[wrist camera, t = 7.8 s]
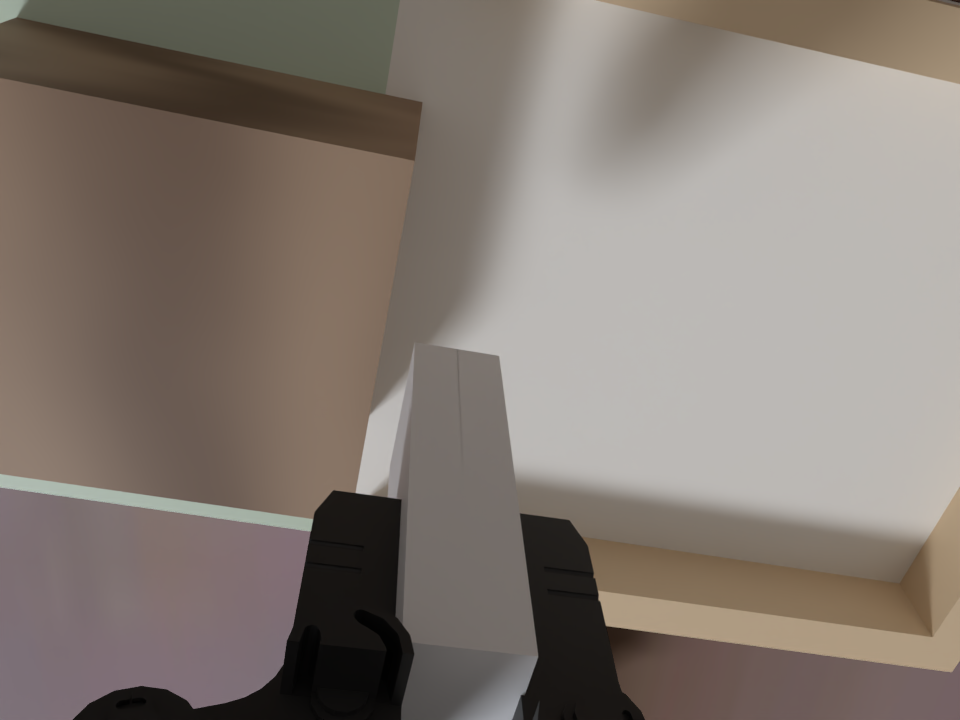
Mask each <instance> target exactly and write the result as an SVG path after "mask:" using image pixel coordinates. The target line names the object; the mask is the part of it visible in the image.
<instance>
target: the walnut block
mask: <svg viewBox="0 0 960 720" xmlns="http://www.w3.org/2000/svg"><path fill="white" fill-rule="evenodd" d="M422 103H423V102H419V101H414V100H410V99H405V98H400V97H395V96H390V95H386V94H381V93H376V92H371V91H367V90H362V89H357V88H352V87H347V86H343V85H338V84H333V83H328V82H324V81H319V80H314V79H309V78H304V77H300V76H295V75H290V74H285V73H281V72H276V71H271V70H266V69H261V68H257V67H252V66H247V65H242V64H238V63H233V62H228V61H223V60H218V59H214V58H209V57H204V56H199V55H194V54H190V53H185V52H180V51H175V50H171V49H166V48H161V47H156V46H151V45H147V44H142V43H137V42H132V41H128V40H123V39H118V38H113V37H108V36H104V35H99V34H94V33H89V32H85V31H80V30H75V29H70V28H65V27H61V26H56V25H51V24H46V23H42V22H37V21H32V20H27V19H22V18H18V17H16V18H13V19H11V20H8V21H5V22H2V23H0V474H3V475H10V476H17V477H24V478H31V479H38V480H45V481H52V482H59V483H66V484H73V485H79V486H86V487H93V488H100V489H107V490H114V491H121V492H128V493H135V494H142V495H149V496H156V497H163V498H170V499H177V500H184V501H191V502H197V503H204V504H211V505H218V506H225V507H232V508H239V509H246V510H253V511H260V512H267V513H274V514H281V515H288V516H295V517H302V518H309V519H313V518H314V512H315V511H316V510H317V508H318V507H319V506H320V505H321V504H322V503H323V501H324V500H325V499H326V498H327V497H328V496H329V495H330V493H331V492H332V491H333V490H336V491H344V492H351V493H356V487H357V482H358V476H359V470H360V465H361V459H362V454H363V448H364V443H365V437H366V431H367V426H368V420H369V415H370V409H371V403H372V398H373V392H374V387H375V381H376V375H377V370H378V364H379V359H380V353H381V347H382V342H383V336H384V331H385V325H386V319H387V314H388V308H389V303H390V297H391V291H392V286H393V280H394V275H395V269H396V264H397V258H398V252H399V247H400V241H401V236H402V230H403V224H404V219H405V213H406V208H407V202H408V196H409V191H410V185H411V180H412V174H413V168H414V163H415V156H416V148H417V141H418V133H419V126H420V118H421V111H422Z"/></svg>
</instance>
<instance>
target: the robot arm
mask: <svg viewBox="0 0 960 720" xmlns="http://www.w3.org/2000/svg"><path fill="white" fill-rule="evenodd" d="M593 576H594V571H593V566H592V562H591V557H590V553H589V548H588V545H587V544H586V542H585V541H584V540H583V538H582V537H581V535H580V534H579V533H578V531H577V530H576V529H575V527H574V526H573V524H572V523H571V522H570V520H566V519H559V518H551V517H544V516H537V515H529V514H522V513H520V512H519V504H518V497H517V489H516V481H515V474H514V466H513V458H512V451H511V443H510V435H509V428H508V420H507V412H506V404H505V397H504V389H503V381H502V374H501V366H500V358H499V356H497V355H491V354H485V353H479V352H473V351H467V350H460V349H454V348H448V347H442V346H436V345H430V344H424V343H417V342H415V343H414V348H413V353H412V358H411V363H410V368H409V373H408V378H407V383H406V388H405V393H404V398H403V403H402V408H401V413H400V418H399V423H398V428H397V433H396V438H395V443H394V448H393V453H392V458H391V463H390V470H389V484H388V497H381V496H373V495H366V494H359V493H351V492H344V491H336V490H333V491H332V492H331V493H330V495H329V496H328V497H327V498H326V499H325V500H324V501H323V503H322V504H321V505H320V506H319V507H318V508H317V510H316V511H315V512H314V518H313V523H312V528H311V534H310V539H309V545H308V550H307V555H306V561H305V567H304V572H303V577H302V582H301V588H300V593H299V599H298V604H297V609H296V615H295V620H294V626H293V629H292V631H291V633H290V635H289V638H288V640H287V645H286V652H285V659H284V665H283V666H282V668H281V669H280V671H279V672H278V673H277V675H276V676H275V677H274V678H273V679H272V680H271V681H270V682H269V683H267V684H266V685H265V686H264V687H263V688H262V689H260V690H258V691H256V692H254V693H252V694H250V695H249V696H247V697H245V698H241V699H238V700H235V701H231V702H228V703H224V704H218V705H213V706H208V707H202V708H197V709H193V708H192V707H191V705H190V704H189V703H188V701H187V700H185V699H183V698H181V697H179V696H178V695H176V694H174V693H172V692H170V691H168V690H166V689H159V688H151V687H144V686H139V687H134V688H128V689H122V690H117V691H113V692H111V693H109V694H107V695H105V696H103V697H101V698H99V699H97V700H95V701H93V702H91V703H89V704H88V705H87V706H86V707H85V708H84V709H83V710H82V711H81V712H80V713H79V714H78V715H77V716H76V717H75V718H74V719H73V720H645V719H644V717H643V714H642V712H641V711H640V709H639V708H638V707H637V706H636V705H635V704H634V703H633V702H632V701H631V700H630V698H629V697H628V696H627V695H626V694H624V693H623V692H622V691H621V688H620V685H619V682H618V678H617V673H616V669H615V664H614V660H613V655H612V651H611V647H610V642H609V638H608V633H607V629H606V624H605V620H604V615H603V611H602V606H601V602H600V601H599V600H598V598H599V593H598V588H597V584H596V580H595V578H594V577H593Z"/></svg>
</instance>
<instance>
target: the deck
mask: <svg viewBox="0 0 960 720" xmlns="http://www.w3.org/2000/svg"><path fill="white" fill-rule="evenodd" d="M16 17H18V18H22V19H27V20H32V21H37V22H42V23H46V24H51V25H56V26H61V27H65V28H70V29H75V30H80V31H85V32H89V33H94V34H99V35H104V36H108V37H113V38H118V39H123V40H128V41H132V42H137V43H142V44H147V45H151V46H156V47H161V48H166V49H171V50H175V51H180V52H185V53H190V54H194V55H199V56H204V57H209V58H214V59H218V60H223V61H228V62H233V63H238V64H242V65H247V66H252V67H257V68H261V69H266V70H271V71H276V72H281V73H285V74H290V75H295V76H300V77H304V78H309V79H314V80H319V81H324V82H328V83H333V84H338V85H343V86H347V87H352V88H357V89H362V90H367V91H371V92H376V93H381V94H386V95H390V96H395V97H400V98H405V99H410V100H414V101H419V102H423V103H422V111H421V118H420V126H419V133H418V141H417V148H416V156H415V163H414V168H413V174H412V180H411V185H410V191H409V196H408V202H407V208H406V213H405V219H404V224H403V230H402V236H401V241H400V247H399V252H398V258H397V264H396V269H395V275H394V280H393V286H392V291H391V297H390V303H389V308H388V314H387V319H386V325H385V331H384V336H383V342H382V347H381V353H380V359H379V364H378V370H377V375H376V381H375V387H374V392H373V398H372V403H371V409H370V415H369V420H368V426H367V431H366V437H365V443H364V448H363V454H362V459H361V465H360V470H359V476H358V482H357V487H356V493H359V494H366V495H373V496H381V497H388V484H389V470H390V463H391V458H392V453H393V448H394V443H395V438H396V433H397V428H398V423H399V418H400V413H401V408H402V403H403V398H404V393H405V388H406V383H407V378H408V373H409V368H410V363H411V358H412V353H413V348H414V343H415V342H417V343H424V344H430V345H436V346H442V347H448V348H454V349H460V350H467V351H473V352H479V353H485V354H491V355H497V356H499V358H500V366H501V374H502V381H503V389H504V397H505V404H506V412H507V420H508V428H509V435H510V443H511V451H512V458H513V466H514V474H515V481H516V489H517V497H518V504H519V512H520V513H522V514H529V515H537V516H544V517H551V518H559V519H566V520H570V522H571V523H572V524H573V526H574V527H575V529H576V530H577V531H578V533H579V534H580V535H581V537H582V538H583V540H584V541H585V542H586V544H587V545H588V548H589V553H590V557H591V562H592V566H593V571H594V576H593V577H594V578H595V580H596V584H597V588H598V593H599V598H598V600H599V601H600V602H601V606H602V611H603V615H604V620H605V624H606V626H610V627H617V628H625V629H632V630H640V631H647V632H655V633H662V634H670V635H677V636H685V637H692V638H700V639H707V640H715V641H722V642H730V643H737V644H744V645H752V646H759V647H767V648H774V649H782V650H789V651H797V652H804V653H812V654H819V655H827V656H834V657H842V658H849V659H856V660H864V661H871V662H879V663H886V664H894V665H901V666H909V667H916V668H924V669H931V670H939V671H946V672H952V671H953V670H954V668H955V667H956V665H957V664H958V663H959V661H960V3H958V2H954V1H950V0H0V23H2V22H5V21H8V20H11V19H13V18H16ZM0 487H2V488H9V489H16V490H23V491H30V492H37V493H44V494H51V495H58V496H65V497H72V498H79V499H86V500H93V501H100V502H107V503H114V504H121V505H128V506H135V507H142V508H149V509H157V510H164V511H171V512H178V513H185V514H192V515H199V516H206V517H213V518H220V519H227V520H234V521H241V522H248V523H255V524H262V525H269V526H276V527H283V528H290V529H297V530H304V531H311V528H312V523H313V519H309V518H302V517H295V516H288V515H281V514H274V513H267V512H260V511H253V510H246V509H239V508H232V507H225V506H218V505H211V504H204V503H197V502H191V501H184V500H177V499H170V498H163V497H156V496H149V495H142V494H135V493H128V492H121V491H114V490H107V489H100V488H93V487H86V486H79V485H73V484H66V483H59V482H52V481H45V480H38V479H31V478H24V477H17V476H10V475H3V474H0Z"/></svg>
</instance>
